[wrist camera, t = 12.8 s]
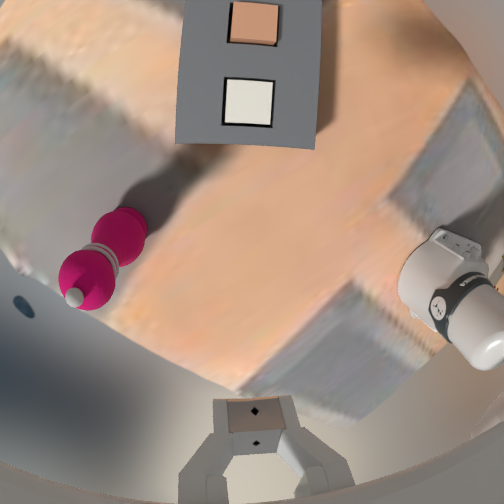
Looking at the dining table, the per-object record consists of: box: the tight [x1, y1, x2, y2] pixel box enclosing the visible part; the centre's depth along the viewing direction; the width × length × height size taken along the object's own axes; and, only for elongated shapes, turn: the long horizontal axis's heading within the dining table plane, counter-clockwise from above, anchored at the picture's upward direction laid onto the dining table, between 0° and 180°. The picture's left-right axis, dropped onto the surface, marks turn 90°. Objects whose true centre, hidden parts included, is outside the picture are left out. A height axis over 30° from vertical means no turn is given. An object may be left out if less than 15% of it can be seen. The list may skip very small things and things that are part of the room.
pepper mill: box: [59, 207, 147, 310], centre depth 31 cm, size 7×7×20 cm
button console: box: [175, 0, 322, 150], centre depth 31 cm, size 16×20×6 cm
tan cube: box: [229, 2, 278, 47], centre depth 28 cm, size 5×5×5 cm
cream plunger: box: [224, 80, 273, 125], centre depth 33 cm, size 5×5×5 cm
